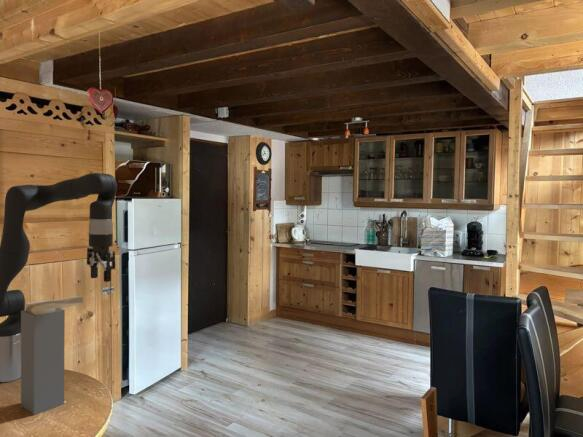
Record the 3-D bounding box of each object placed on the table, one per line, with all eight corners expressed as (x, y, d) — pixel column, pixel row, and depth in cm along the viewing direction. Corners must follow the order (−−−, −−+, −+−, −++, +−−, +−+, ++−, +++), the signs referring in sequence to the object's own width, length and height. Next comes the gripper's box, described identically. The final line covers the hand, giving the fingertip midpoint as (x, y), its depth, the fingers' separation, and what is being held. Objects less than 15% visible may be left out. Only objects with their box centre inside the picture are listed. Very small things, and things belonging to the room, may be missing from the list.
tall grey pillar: (21, 406, 144) (21, 310, 142) (50, 396, 151) (50, 305, 150) (34, 415, 139) (34, 316, 137) (64, 403, 146) (64, 310, 145)
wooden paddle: (25, 310, 142) (25, 303, 142) (75, 301, 156) (75, 294, 156) (36, 314, 138) (36, 307, 138) (86, 305, 152) (86, 297, 152)
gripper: (79, 231, 149) (79, 278, 150) (101, 234, 140) (101, 284, 141) (100, 230, 155) (100, 275, 156) (122, 233, 146) (122, 281, 147)
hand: (100, 279), depth 148 cm, fingers open, 8 cm apart
